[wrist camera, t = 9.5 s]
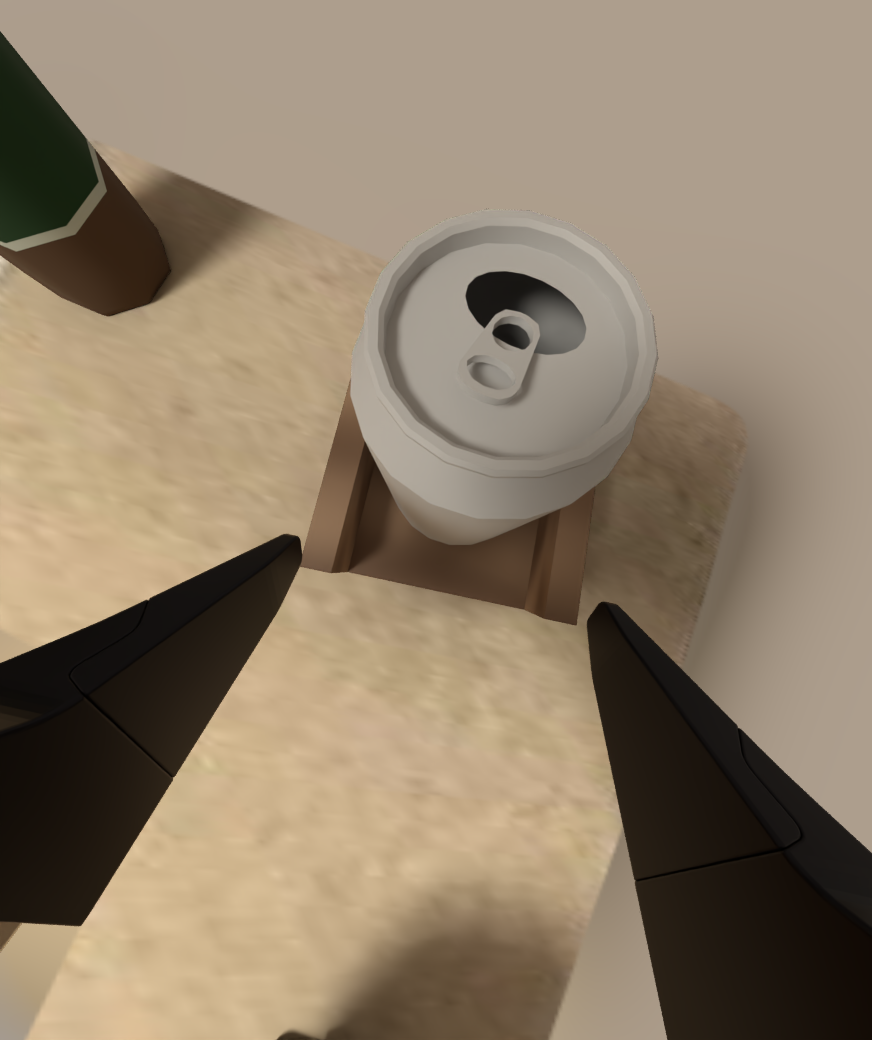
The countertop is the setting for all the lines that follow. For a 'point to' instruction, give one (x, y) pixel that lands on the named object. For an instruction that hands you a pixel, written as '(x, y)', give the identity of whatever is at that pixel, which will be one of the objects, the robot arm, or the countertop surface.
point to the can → (500, 371)
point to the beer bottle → (68, 204)
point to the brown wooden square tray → (432, 564)
